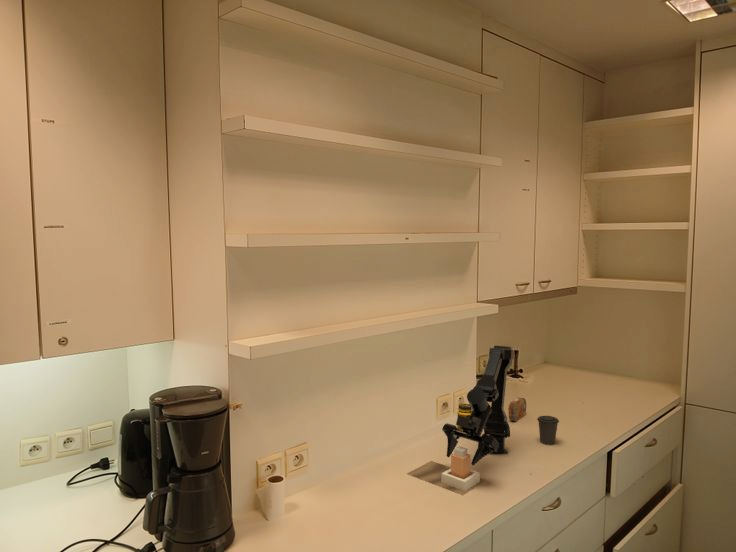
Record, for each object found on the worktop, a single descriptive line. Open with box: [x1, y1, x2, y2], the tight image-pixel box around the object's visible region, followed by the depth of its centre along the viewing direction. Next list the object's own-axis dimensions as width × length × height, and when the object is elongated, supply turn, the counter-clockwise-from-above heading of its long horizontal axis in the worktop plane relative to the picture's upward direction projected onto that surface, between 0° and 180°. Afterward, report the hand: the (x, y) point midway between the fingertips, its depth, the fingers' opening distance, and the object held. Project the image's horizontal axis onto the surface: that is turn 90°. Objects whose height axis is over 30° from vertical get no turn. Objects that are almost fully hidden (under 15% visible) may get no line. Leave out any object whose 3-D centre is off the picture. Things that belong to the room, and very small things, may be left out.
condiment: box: [456, 403, 472, 431], centre depth 218 cm, size 7×8×12 cm
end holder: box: [441, 468, 481, 491], centre depth 172 cm, size 9×9×3 cm
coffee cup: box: [536, 415, 560, 446], centre depth 208 cm, size 8×8×10 cm
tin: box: [508, 397, 527, 422], centre depth 236 cm, size 15×3×8 cm, turn 143°
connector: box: [450, 445, 471, 479], centre depth 172 cm, size 4×4×11 cm
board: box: [406, 460, 487, 496], centre depth 176 cm, size 22×14×1 cm, turn 47°
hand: (459, 460), depth 171 cm, fingers open, 9 cm apart
